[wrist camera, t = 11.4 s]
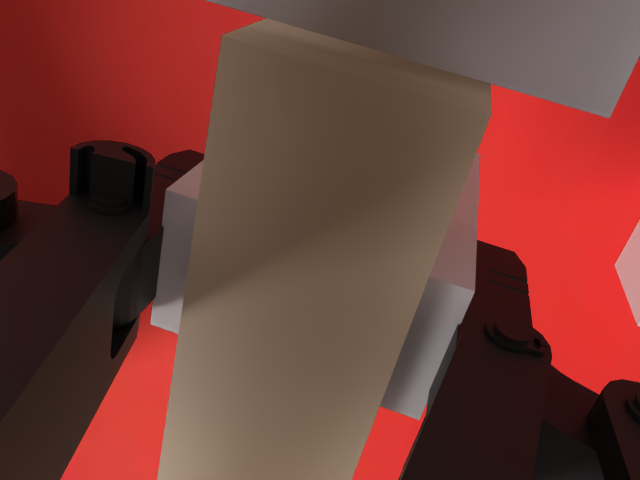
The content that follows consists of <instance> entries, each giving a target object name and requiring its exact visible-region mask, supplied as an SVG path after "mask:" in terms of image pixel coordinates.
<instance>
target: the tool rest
mask: <svg viewBox="0 0 640 480" xmlns="http://www.w3.org/2000/svg"><path fill="white" fill-rule="evenodd" d="M615 268H616V270H617V273H618V276H619V278H620V281H621V284H622V286H623V289H624V291H625V294H626V297H627V299H628V302H629V304H630V307H631V310H632V312H633V315H634V318H635V320H636V323H637V325H638V326H640V220H639V222H638V224H637V226H636V227H635V229H634V231H633V233H632V235H631V236H630V238H629V240H628V242H627V244H626V245H625V247H624V249H623V251H622V253H621V254H620V256H619V258H618V260H617V261H616V263H615Z"/></svg>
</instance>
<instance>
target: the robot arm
mask: <svg viewBox="0 0 640 480" xmlns="http://www.w3.org/2000/svg"><path fill="white" fill-rule="evenodd" d="M204 155H205V154H202V153H199V152H195V151H192V150H186V151H182V152H177V153H173V154H169V155H168V156H166V157H165V158H164V159H162V160H161V161H159V162H158V163H157V165H155V163H156V161H155V159H154V158H153V156H152V155H151V154H150V153H148V152H147V151H145V150H143V149H142V148H140V147H137V146H134V145H131V144H128V143H122V142H116V141H89V142H83V143H79V144H77V145H75V146H73V147H71V153H70V188H69V195H68V196H67V197H66V198H65V199H64V200H63V201H62V202H61V203H60V204H59V205H58V206H56V205H47V204H41V203H34V202H27V201H20V200H18V188H17V182H16V181H15V179H14V178H13V176H11V175H9V174H7V173H6V172H4V171H2V170H0V480H60V479H61V477H62V475H63V473H64V471H65V469H66V468H67V466H68V464H69V462H70V460H71V458H72V456H73V454H74V453H75V451H76V449H77V447H78V445H79V443H80V441H81V440H82V438H83V436H84V434H85V432H86V430H87V428H88V427H89V425H90V423H91V421H92V419H93V417H94V415H95V413H96V412H97V410H98V408H99V406H100V404H101V402H102V400H103V399H104V397H105V395H106V393H107V391H108V389H109V387H110V386H111V384H112V382H113V380H114V378H115V376H116V374H117V372H118V371H119V369H120V367H121V365H122V363H123V361H124V359H125V358H126V356H127V354H128V352H129V350H130V348H131V346H132V345H133V343H134V341H135V339H136V337H137V332H138V327H139V317H140V313H141V312H142V311H143V310H144V309H145V308H146V307H147V306H148V305H149V304H150V302H151V301H152V300H153V305H152V314H151V322H150V324H151V325H154V326H157V327H159V328H162V329H165V330H168V331H171V332H173V333H176V334H178V333H179V326H180V320H181V313H182V306H183V299H184V292H185V285H186V278H187V271H188V265H189V258H190V251H191V244H192V237H193V230H194V223H195V216H196V210H197V203H198V196H199V189H200V182H201V175H202V168H203V162H204ZM479 175H480V154H478V153H476V156H475V158H474V161H473V163H472V166H471V169H470V171H469V174H468V176H467V179H466V182H465V184H464V187H463V190H462V192H461V195H460V197H459V200H458V203H457V205H456V208H455V210H454V213H453V216H452V218H451V221H450V224H449V226H448V229H447V231H446V234H445V237H444V239H443V242H442V244H441V247H440V250H439V252H438V255H437V258H436V260H435V263H434V265H433V268H432V271H431V273H430V276H429V278H428V281H427V284H426V286H425V289H424V292H423V294H422V297H421V299H420V302H419V305H418V307H417V310H416V312H415V315H414V318H413V320H412V323H411V326H410V328H409V331H408V333H407V336H406V339H405V341H404V344H403V346H402V349H401V352H400V354H399V357H398V360H397V362H396V365H395V367H394V370H393V373H392V375H391V378H390V380H389V383H388V386H387V388H386V391H385V394H384V396H383V399H382V401H381V404H380V406H381V407H384V408H386V409H389V410H392V411H395V412H398V413H400V414H403V415H406V416H409V417H412V418H414V419H417V420H420V417H421V415H422V413H423V410H424V408H425V406H426V403H427V401H428V403H427V411H426V416H425V418H424V421H423V423H422V425H421V428H420V430H419V432H418V434H417V437H416V439H415V441H414V444H413V446H412V448H411V450H410V453H409V455H408V457H407V460H406V462H405V464H404V466H403V470H402V472H401V475H400V477H399V479H398V480H640V383H639V382H634V381H628V380H623V379H621V380H615V381H610V382H609V383H608V384H607V385H606V386H605V387H604V388H603V390H602V392H601V393H600V395H599V394H597V393H595V392H593V391H591V390H590V389H588V388H586V387H584V386H582V385H581V384H579V383H577V382H575V381H573V380H572V379H570V378H568V377H567V376H565V375H564V374H562V373H561V372H559V371H558V370H557V369H556V368H554V367H553V366H552V365H551V360H552V353H551V348H550V345H549V344H548V342H547V341H546V340H545V338H544V337H543V335H542V334H540V333H539V332H538V331H537V330H535V329H534V328H533V327H532V318H531V309H530V300H529V296H528V293H529V291H528V284H527V273H526V267H525V266H524V264H523V263H522V261H521V260H520V259H519V257H518V256H517V255H516V253H515V252H513V251H510V250H507V249H504V248H500V247H497V246H494V245H491V244H488V243H485V242H482V241H479V240H477V226H478V200H479Z"/></svg>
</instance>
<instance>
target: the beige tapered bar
mask: <svg viewBox="0 0 640 480" xmlns="http://www.w3.org/2000/svg"><path fill="white" fill-rule="evenodd" d="M206 1H209V2H213V3H216V4H220V5H223V6H226V7H230V8H233V9H237V10H240V11H244V12H247V13H250V14H254V15H257V16H261V17H264V18H266V19H264V20H261V21H258V22H255V23H253V24H250V25H247V26H245V27H242V28H239V29H237V30H234V31H231V32H229V33H226V34H223V35H222V38H221V45H220V52H219V58H218V65H217V72H216V79H215V86H214V93H213V100H212V107H211V113H210V120H209V127H208V134H207V141H206V148H205V155H204V162H203V168H202V175H201V182H200V189H199V196H198V203H197V210H196V216H195V223H194V230H193V237H192V244H191V251H190V258H189V265H188V271H187V278H186V285H185V292H184V299H183V306H182V313H181V320H180V326H179V333H178V340H177V347H176V354H175V361H174V368H173V374H172V381H171V388H170V395H169V402H168V409H167V416H166V423H165V429H164V436H163V443H162V450H161V457H160V464H159V471H158V478H157V480H352V477H353V475H354V472H355V469H356V467H357V464H358V462H359V459H360V456H361V454H362V451H363V449H364V446H365V443H366V441H367V438H368V435H369V433H370V430H371V428H372V425H373V422H374V420H375V417H376V414H377V412H378V409H379V407H380V404H381V401H382V399H383V396H384V394H385V391H386V388H387V386H388V383H389V380H390V378H391V375H392V373H393V370H394V367H395V365H396V362H397V360H398V357H399V354H400V352H401V349H402V346H403V344H404V341H405V339H406V336H407V333H408V331H409V328H410V326H411V323H412V320H413V318H414V315H415V312H416V310H417V307H418V305H419V302H420V299H421V297H422V294H423V292H424V289H425V286H426V284H427V281H428V278H429V276H430V273H431V271H432V268H433V265H434V263H435V260H436V258H437V255H438V252H439V250H440V247H441V244H442V242H443V239H444V237H445V234H446V231H447V229H448V226H449V224H450V221H451V218H452V216H453V213H454V210H455V208H456V205H457V203H458V200H459V197H460V195H461V192H462V190H463V187H464V184H465V182H466V179H467V176H468V174H469V171H470V169H471V166H472V163H473V161H474V158H475V156H476V153H477V150H478V148H479V145H480V142H481V140H482V137H483V135H484V132H485V129H486V127H487V124H488V122H489V119H490V116H491V86H490V84H493V85H497V86H500V87H504V88H507V89H510V90H514V91H517V92H521V93H524V94H528V95H531V96H534V97H538V98H541V99H545V100H548V101H551V102H555V103H558V104H562V105H565V106H569V107H572V108H575V109H579V110H582V111H586V112H589V113H593V114H596V115H599V116H603V117H606V118H610V116H611V114H612V112H613V110H614V108H615V106H616V104H617V102H618V100H619V98H620V95H621V93H622V91H623V89H624V87H625V85H626V83H627V81H628V79H629V77H630V75H631V73H632V71H633V69H634V67H635V64H636V62H637V60H638V58H639V56H640V0H206Z"/></svg>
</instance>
